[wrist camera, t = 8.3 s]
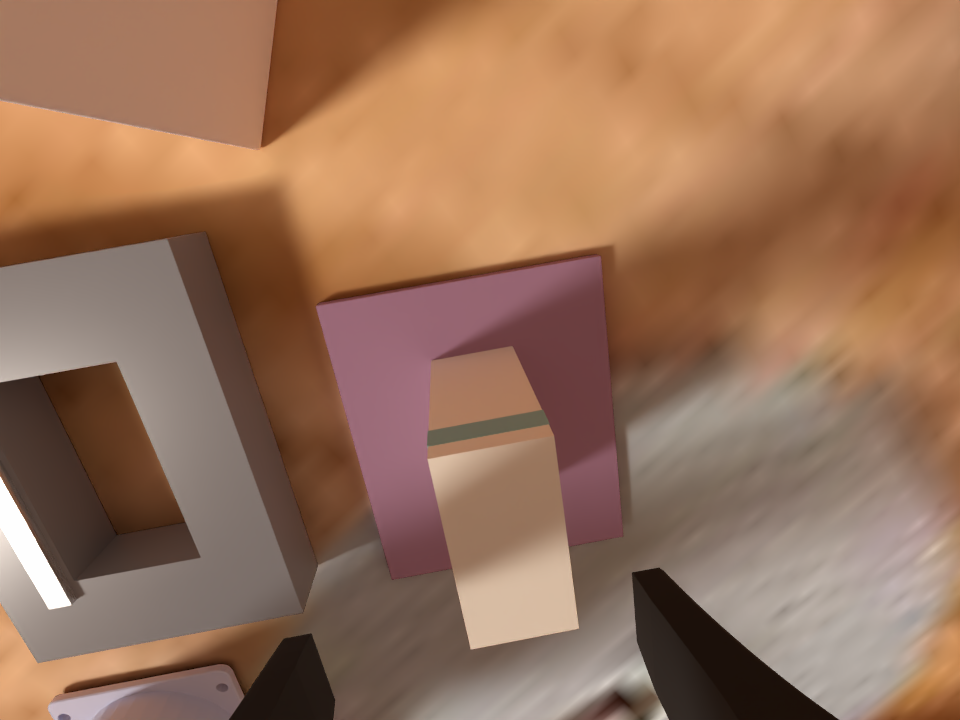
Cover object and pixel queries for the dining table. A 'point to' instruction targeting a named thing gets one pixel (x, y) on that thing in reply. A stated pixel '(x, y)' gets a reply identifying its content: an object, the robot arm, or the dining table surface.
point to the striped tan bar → (499, 499)
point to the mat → (464, 330)
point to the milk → (143, 63)
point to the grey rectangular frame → (175, 438)
